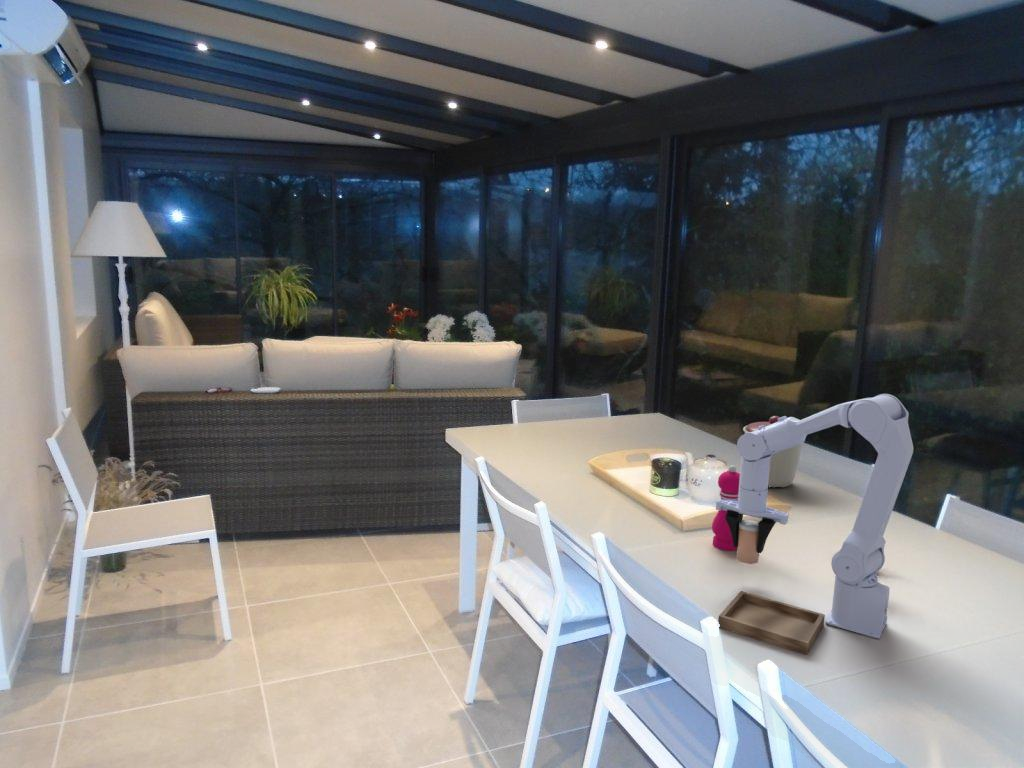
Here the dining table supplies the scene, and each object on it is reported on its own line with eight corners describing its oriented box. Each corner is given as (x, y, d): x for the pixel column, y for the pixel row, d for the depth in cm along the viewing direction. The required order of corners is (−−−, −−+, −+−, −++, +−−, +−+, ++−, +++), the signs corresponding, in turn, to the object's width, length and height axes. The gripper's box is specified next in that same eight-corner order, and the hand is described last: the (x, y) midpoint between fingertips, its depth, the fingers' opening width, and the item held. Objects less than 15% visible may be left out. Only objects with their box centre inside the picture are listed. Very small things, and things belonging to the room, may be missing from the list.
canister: (730, 484, 224) (736, 416, 220) (749, 470, 239) (754, 407, 235) (792, 496, 214) (799, 426, 210) (807, 481, 229) (814, 415, 225)
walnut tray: (823, 625, 140) (824, 614, 139) (806, 654, 129) (807, 643, 129) (740, 601, 149) (740, 590, 148) (717, 626, 138) (718, 616, 138)
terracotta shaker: (761, 558, 157) (764, 523, 156) (754, 565, 153) (758, 529, 152) (740, 553, 160) (742, 518, 158) (733, 560, 156) (735, 524, 155)
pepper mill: (747, 545, 177) (753, 465, 173) (733, 554, 172) (739, 471, 168) (719, 537, 182) (725, 459, 178) (705, 545, 177) (711, 465, 173)
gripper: (794, 489, 153) (788, 551, 155) (725, 476, 161) (721, 534, 163) (785, 498, 147) (779, 562, 150) (714, 483, 155) (709, 544, 158)
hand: (748, 548), depth 156 cm, fingers closed on terracotta shaker, 4 cm apart
